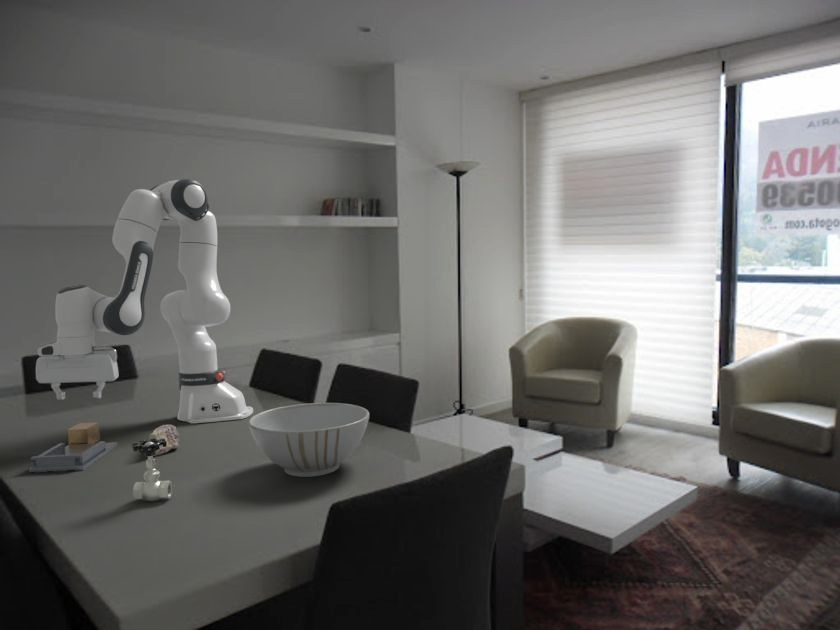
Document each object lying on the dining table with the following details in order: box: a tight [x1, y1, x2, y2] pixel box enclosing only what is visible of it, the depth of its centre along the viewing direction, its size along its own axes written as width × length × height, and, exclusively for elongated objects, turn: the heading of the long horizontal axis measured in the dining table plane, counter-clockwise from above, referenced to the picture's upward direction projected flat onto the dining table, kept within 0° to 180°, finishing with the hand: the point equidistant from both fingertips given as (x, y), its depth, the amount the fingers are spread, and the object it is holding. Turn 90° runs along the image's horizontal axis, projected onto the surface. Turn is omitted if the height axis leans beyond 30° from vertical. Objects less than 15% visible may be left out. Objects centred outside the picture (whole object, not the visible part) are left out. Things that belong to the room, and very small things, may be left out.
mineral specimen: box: [148, 424, 180, 457], centre depth 170 cm, size 13×7×6 cm, turn 15°
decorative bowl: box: [248, 402, 370, 478], centre depth 151 cm, size 27×27×12 cm
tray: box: [28, 440, 119, 474], centre depth 166 cm, size 12×20×4 cm, turn 3°
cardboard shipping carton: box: [67, 421, 101, 445], centre depth 179 cm, size 5×7×5 cm
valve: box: [131, 438, 173, 502], centre depth 134 cm, size 7×7×12 cm
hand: (79, 398), depth 178 cm, fingers open, 8 cm apart
